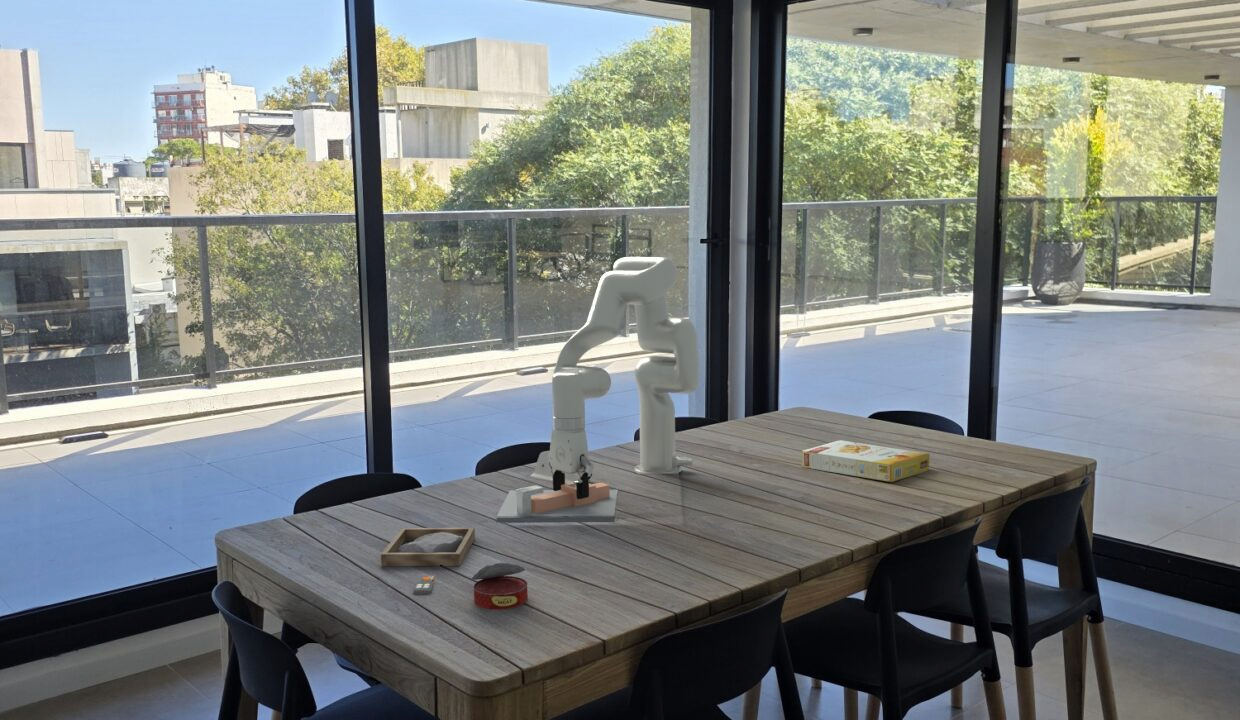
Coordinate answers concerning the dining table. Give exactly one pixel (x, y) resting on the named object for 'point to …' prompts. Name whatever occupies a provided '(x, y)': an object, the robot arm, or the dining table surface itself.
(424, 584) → the key chain
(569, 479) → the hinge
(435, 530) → the tray
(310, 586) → the dining table surface
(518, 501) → the bracket
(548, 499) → the link
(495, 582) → the canned food
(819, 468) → the cereal box
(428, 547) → the stone block
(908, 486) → the dining table surface
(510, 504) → the board
